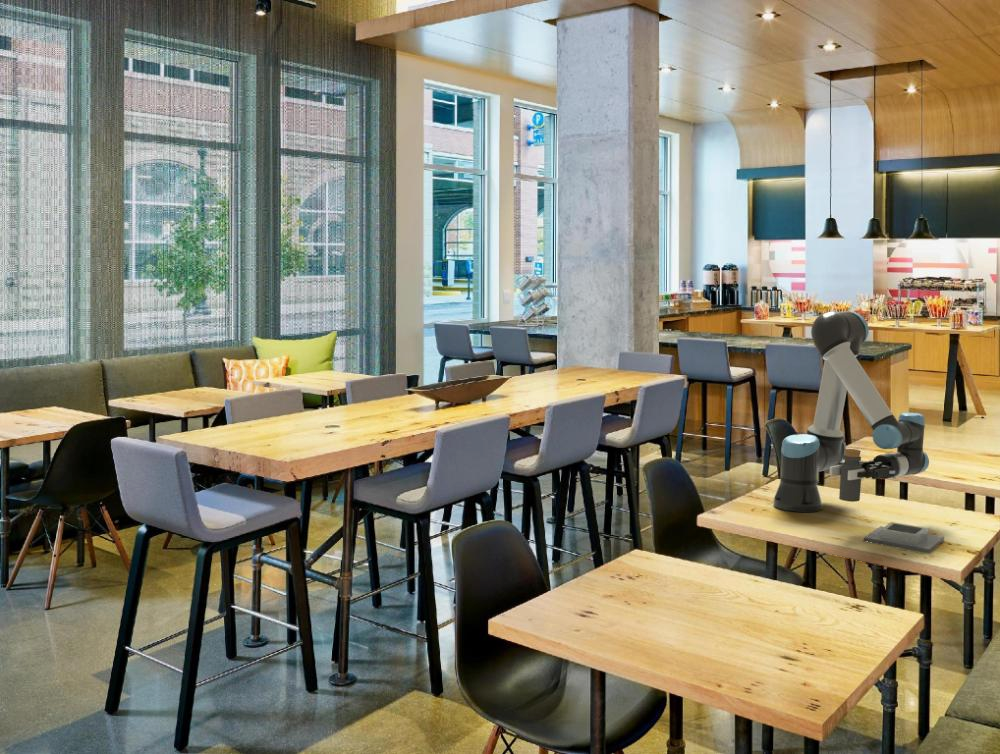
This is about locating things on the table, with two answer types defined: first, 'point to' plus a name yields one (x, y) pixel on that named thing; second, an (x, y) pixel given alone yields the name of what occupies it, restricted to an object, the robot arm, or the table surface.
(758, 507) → the table surface
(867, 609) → the table surface
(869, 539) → the collar plate
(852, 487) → the bottle
